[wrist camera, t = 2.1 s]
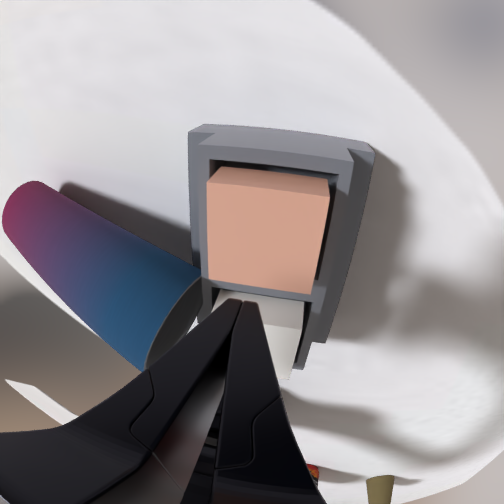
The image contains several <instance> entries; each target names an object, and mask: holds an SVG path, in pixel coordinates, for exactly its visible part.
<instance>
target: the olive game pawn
mask: <svg viewBox="0 0 504 504" xmlns="http://www.w3.org/2000/svg"><path fill="white" fill-rule="evenodd" d="M366 484H367V493H368V502H369V504H390V503H391V497H392V490H393V484H394V476H392V475H384V476H377V477H373V478H370V479H367V480H366Z"/></svg>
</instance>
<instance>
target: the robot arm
mask: <svg viewBox="0 0 504 504" xmlns="http://www.w3.org/2000/svg"><path fill="white" fill-rule="evenodd" d="M281 396H282V395H281V391H280V387H279V384H278V380H277V376H276V372H275V368H274V364H273V360H272V356H271V352H270V349H269V345H268V341H267V337H266V333H265V329H264V325H263V321H262V317H261V313H260V309H259V305H258V303H257V302H253V301H247V300H245V301H242V300H240V299H234V298H228V299H227V300H225V301H224V302H223V303H222V304H221V305H220V306H219V307H217V308H216V309H215V310H214V311H213V312H212V313H211V314H209V315H208V316H207V317H206V318H205V319H204V320H203V321H201V322H200V323H199V324H198V325H197V326H196V327H194V328H193V329H192V330H191V331H190V332H189V333H188V334H186V335H185V336H184V337H183V338H182V339H181V340H179V341H178V342H177V343H176V344H175V345H174V346H172V347H171V348H170V349H169V350H168V351H167V352H165V353H164V354H163V355H162V356H161V357H160V358H158V359H157V360H156V361H155V362H154V363H153V364H151V365H150V366H149V369H145V370H144V371H143V372H142V373H141V374H140V375H138V376H137V377H136V378H135V379H133V380H132V381H131V382H130V383H128V384H127V385H126V386H124V387H123V388H122V389H120V390H119V391H117V392H116V393H115V394H113V395H112V396H110V397H109V398H107V399H106V400H104V401H103V402H101V403H100V404H98V405H97V406H95V407H93V408H92V409H90V410H89V411H87V412H85V413H84V414H82V415H80V416H79V417H77V418H76V419H74V420H72V421H70V422H69V423H66V424H64V425H62V426H59V427H55V428H51V429H43V430H32V431H20V432H3V433H0V504H327V503H326V502H325V500H324V498H323V497H322V495H321V493H320V492H319V490H318V488H317V486H316V484H315V482H314V480H313V477H312V475H311V473H310V471H309V469H308V466H307V464H306V462H305V460H304V458H303V455H302V453H301V451H300V449H299V446H298V444H297V442H296V439H295V436H294V434H293V431H292V429H291V426H290V423H289V420H288V416H287V413H286V410H285V406H284V402H283V398H282V397H281Z"/></svg>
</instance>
